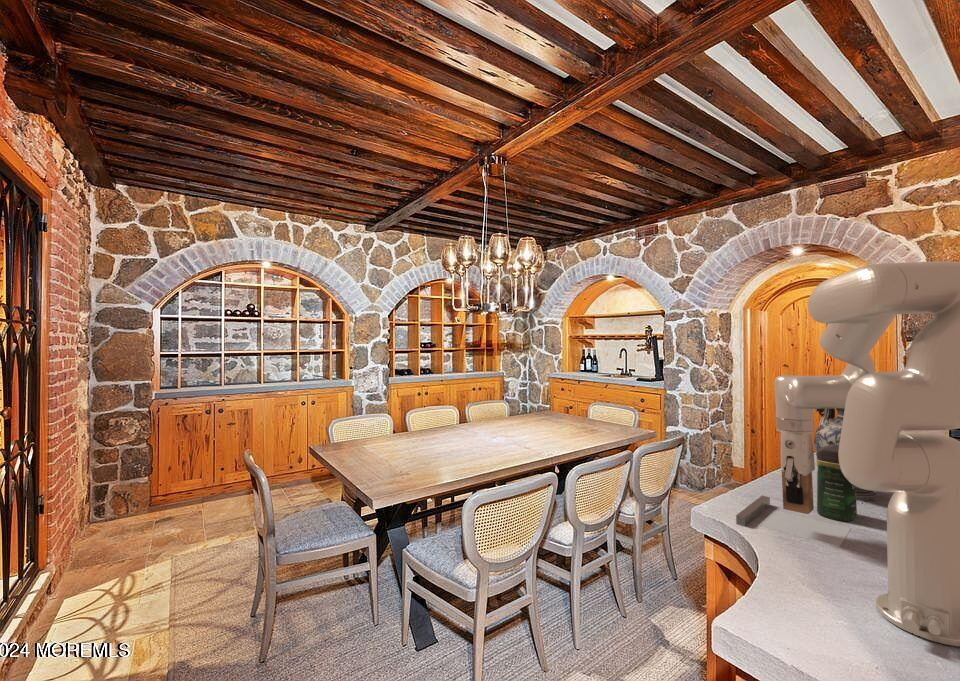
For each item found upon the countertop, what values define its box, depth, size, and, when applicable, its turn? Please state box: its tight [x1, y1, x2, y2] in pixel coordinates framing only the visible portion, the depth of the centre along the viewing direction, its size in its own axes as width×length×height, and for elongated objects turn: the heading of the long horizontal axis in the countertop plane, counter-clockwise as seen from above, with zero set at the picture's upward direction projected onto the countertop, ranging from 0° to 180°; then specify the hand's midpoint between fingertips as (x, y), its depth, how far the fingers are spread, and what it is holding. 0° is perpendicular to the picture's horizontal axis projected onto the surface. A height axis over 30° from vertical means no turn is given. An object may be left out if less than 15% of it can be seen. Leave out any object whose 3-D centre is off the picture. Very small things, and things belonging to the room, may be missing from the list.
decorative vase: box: [813, 408, 879, 501], centre depth 130 cm, size 21×19×28 cm
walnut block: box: [781, 468, 815, 515], centre depth 106 cm, size 5×5×10 cm
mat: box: [758, 509, 852, 548], centre depth 108 cm, size 14×16×1 cm
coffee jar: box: [816, 444, 858, 523], centre depth 115 cm, size 10×8×19 cm
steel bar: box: [735, 495, 771, 527], centre depth 117 cm, size 20×2×2 cm, turn 131°
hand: (798, 499), depth 106 cm, fingers closed on walnut block, 5 cm apart
